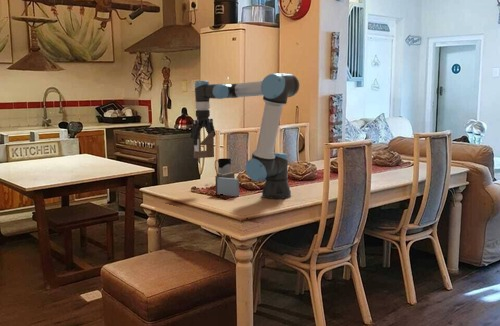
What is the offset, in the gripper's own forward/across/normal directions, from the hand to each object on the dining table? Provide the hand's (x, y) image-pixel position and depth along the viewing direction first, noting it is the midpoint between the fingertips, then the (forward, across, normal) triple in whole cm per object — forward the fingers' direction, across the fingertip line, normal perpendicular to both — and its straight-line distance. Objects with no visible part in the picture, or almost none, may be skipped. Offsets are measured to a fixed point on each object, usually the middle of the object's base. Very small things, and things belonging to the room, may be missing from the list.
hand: (203, 150), depth 285 cm
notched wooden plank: (+23, -6, +10) cm, 26 cm away
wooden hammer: (+4, 0, 0) cm, 4 cm away
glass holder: (+23, -24, -7) cm, 34 cm away
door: (+23, 0, +17) cm, 28 cm away
